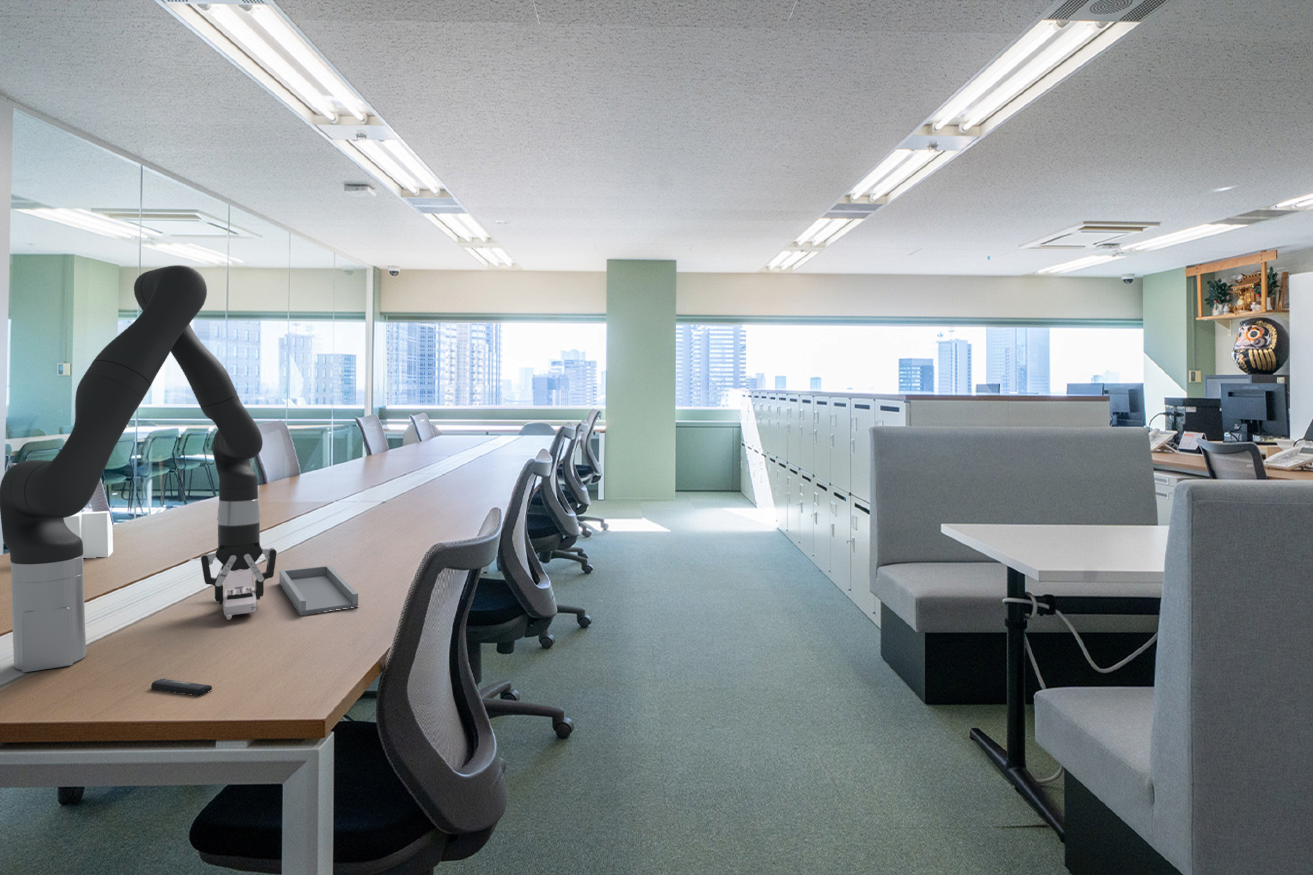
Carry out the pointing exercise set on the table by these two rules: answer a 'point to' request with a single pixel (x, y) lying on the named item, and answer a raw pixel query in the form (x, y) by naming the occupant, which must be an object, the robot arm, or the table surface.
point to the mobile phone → (239, 593)
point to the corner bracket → (93, 532)
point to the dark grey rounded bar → (180, 687)
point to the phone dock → (317, 589)
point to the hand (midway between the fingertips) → (239, 600)
